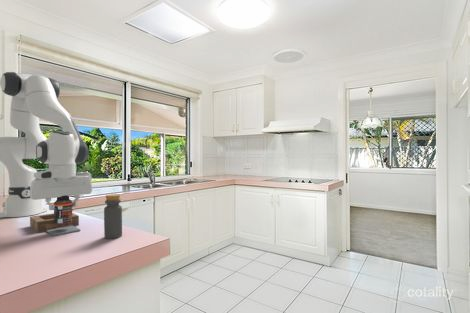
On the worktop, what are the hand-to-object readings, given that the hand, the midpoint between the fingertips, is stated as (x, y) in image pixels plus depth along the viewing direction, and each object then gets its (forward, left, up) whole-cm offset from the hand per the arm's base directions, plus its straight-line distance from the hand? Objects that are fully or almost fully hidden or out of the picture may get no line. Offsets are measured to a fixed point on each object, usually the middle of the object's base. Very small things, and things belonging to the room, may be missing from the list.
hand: (63, 208), depth 102 cm
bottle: (+21, +10, -9) cm, 25 cm away
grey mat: (0, 0, -9) cm, 9 cm away
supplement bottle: (0, 0, -6) cm, 6 cm away
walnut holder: (-13, 0, -9) cm, 15 cm away
